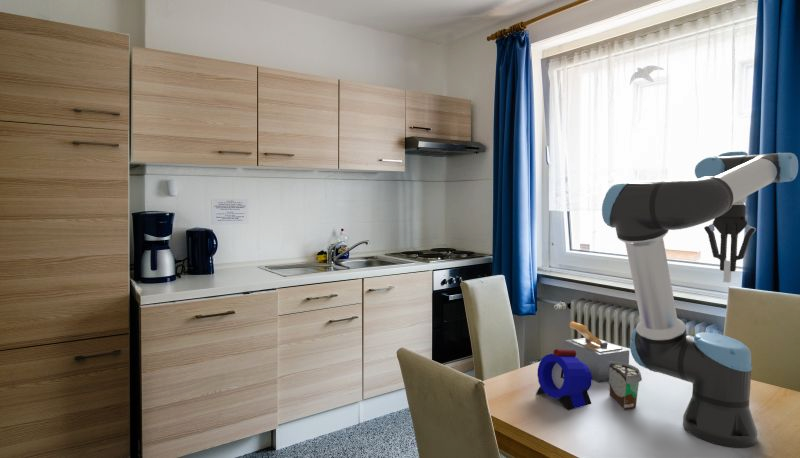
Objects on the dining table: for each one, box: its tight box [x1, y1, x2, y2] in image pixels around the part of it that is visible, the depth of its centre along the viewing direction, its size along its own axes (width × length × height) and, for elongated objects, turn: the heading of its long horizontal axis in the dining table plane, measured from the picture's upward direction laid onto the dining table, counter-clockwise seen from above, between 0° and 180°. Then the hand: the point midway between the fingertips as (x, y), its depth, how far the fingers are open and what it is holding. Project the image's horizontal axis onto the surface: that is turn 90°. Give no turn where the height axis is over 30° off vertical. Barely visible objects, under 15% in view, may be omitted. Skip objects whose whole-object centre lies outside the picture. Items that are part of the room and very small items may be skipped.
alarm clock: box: [535, 348, 593, 411], centre depth 136 cm, size 12×12×15 cm
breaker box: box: [564, 337, 630, 384], centre depth 157 cm, size 12×16×11 cm
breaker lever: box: [569, 321, 601, 345], centre depth 155 cm, size 2×6×10 cm
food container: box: [608, 361, 642, 411], centre depth 133 cm, size 12×6×10 cm, turn 179°
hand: (727, 281), depth 143 cm, fingers closed
